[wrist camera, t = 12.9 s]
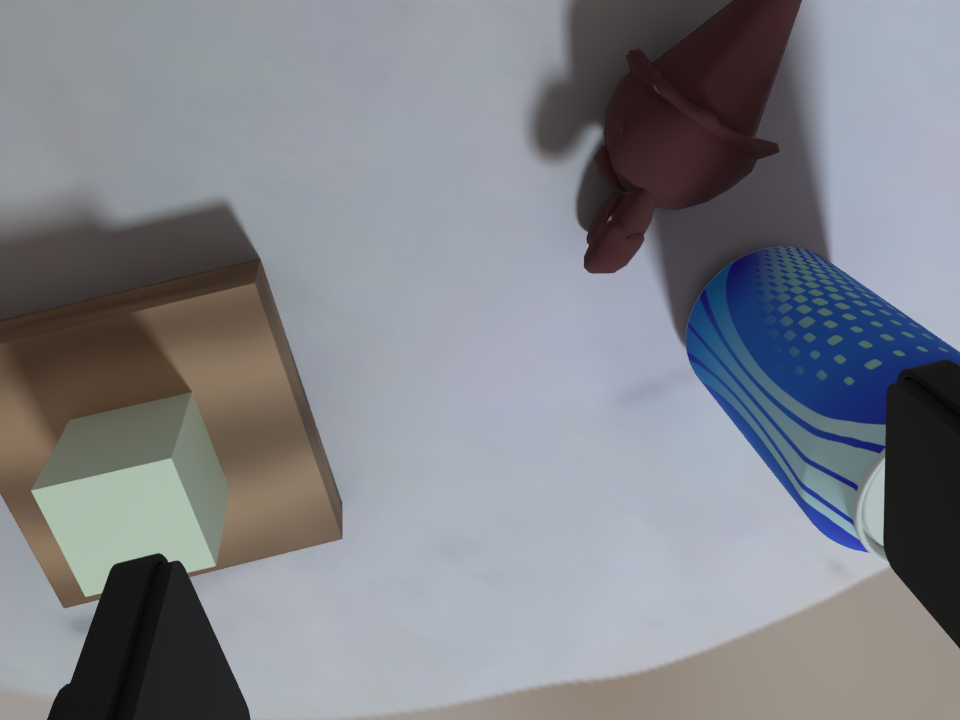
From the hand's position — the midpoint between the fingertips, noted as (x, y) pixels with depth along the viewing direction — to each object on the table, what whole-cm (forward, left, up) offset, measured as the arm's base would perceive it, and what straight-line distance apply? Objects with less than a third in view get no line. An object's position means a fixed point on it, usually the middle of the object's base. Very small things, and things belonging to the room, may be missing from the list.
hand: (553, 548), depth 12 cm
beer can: (+14, +15, -31) cm, 37 cm away
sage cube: (+12, -15, -27) cm, 33 cm away
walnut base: (+12, -15, -30) cm, 36 cm away
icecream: (+2, +12, -31) cm, 33 cm away
